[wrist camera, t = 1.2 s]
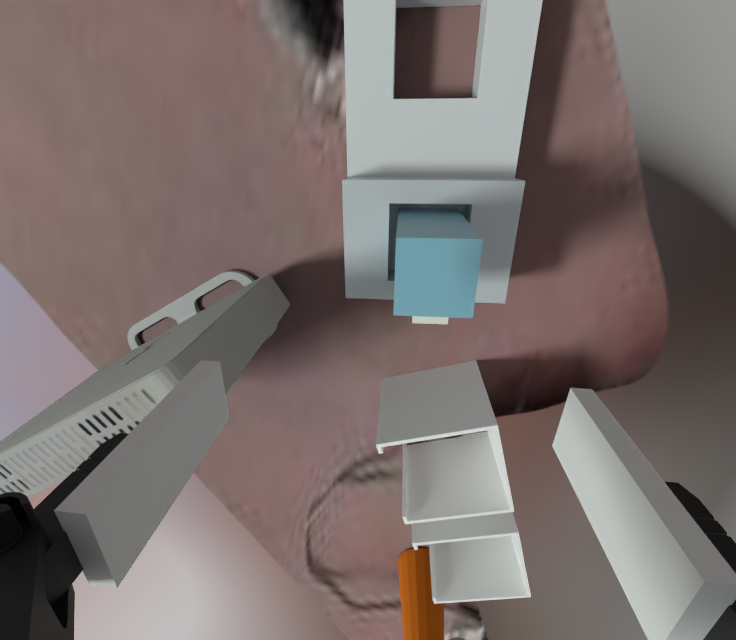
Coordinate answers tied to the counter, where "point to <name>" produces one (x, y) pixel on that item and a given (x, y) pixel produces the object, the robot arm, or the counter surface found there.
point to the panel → (434, 142)
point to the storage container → (454, 482)
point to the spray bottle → (419, 597)
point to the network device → (142, 380)
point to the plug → (435, 265)
